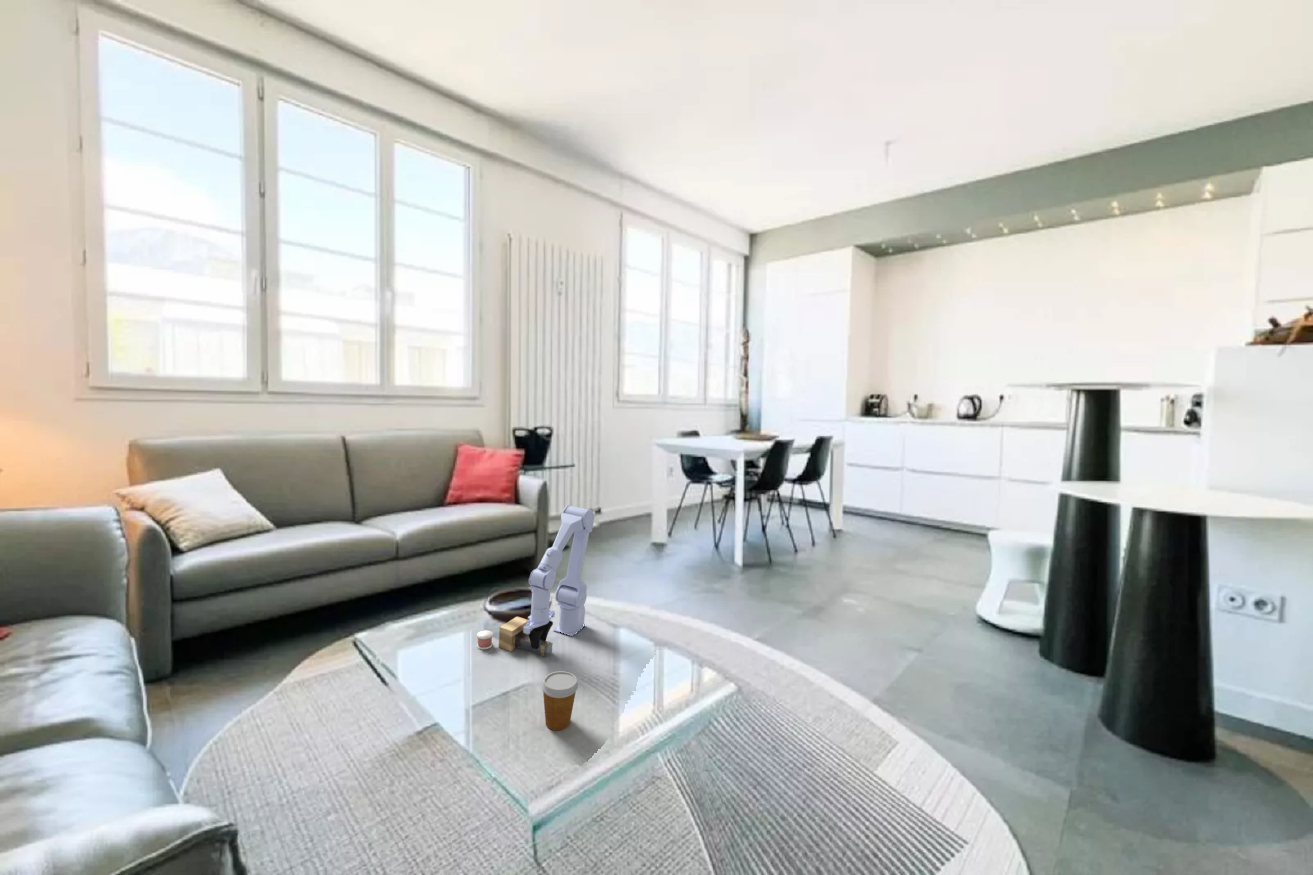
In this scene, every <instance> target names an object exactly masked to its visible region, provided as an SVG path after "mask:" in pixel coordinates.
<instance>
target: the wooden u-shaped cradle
mask: <svg viewBox="0 0 1313 875" xmlns="http://www.w3.org/2000/svg"><path fill="white" fill-rule="evenodd" d="M528 621H529V619H528V618H523V617H520V616H515V617H514V618H512V619H510V620H509V621H508V622H506V623H504V624H502V625H501V626H499V632H498V634H499V635H498V636H499V637H498V648H499V649H503V650H506V651H508V652H513V651H514V650H515V648H516V647H515V635H516V634H517V633H522V634H525V635H528V634H526V633H523V628H524V626H526V624H527V623H528Z"/></svg>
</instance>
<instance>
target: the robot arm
mask: <svg viewBox="0 0 1313 875" xmlns="http://www.w3.org/2000/svg"><path fill="white" fill-rule="evenodd" d="M560 522H561V524H560V527H559V529H558V531H557V535H556V537H555V540H554V542H553V544H552V546H551V547H548V548H547V549H546V550H545V553H544V554H543V556H542V558H541V560H540V563H539V564H538V566H537V568H535V569H533V570H532V571H531V572H530V575H529V578H528V584H529V586H530V591H531V606H530V607H531V608H530V615H529V616H527V620H529V621H528V623H527V624H526V626H524V628H523V633H526V634H528V636H529V639H530V642H531V647H532V648H533V649H538V647H539V642H540V639H541V640H544V641H547V638H548V634H549V632H550V630H551V629H552V627H553V626H554V621H552V620H551V619H553V618H555V615H556V611H555V610H552V609H550V605H551V604H550V602H551V601H550V600H551V589H552V587H553V586H554V585H555V581H556V575H557V572H556V571H557V570H558V568H559V565H560V564H561V561H562V559H563V558H564V556H563V550H565V549H564V548H565V547H566V545H567V544H568V542H569V540H570V539H571V538H573V540H572V545H571V549H570V550H571V551H570V554H569V560H568V566H567V569H566V570H567V571H566V576H565V577H564V578H562V579H560V580H559V581H558V582H559V583H558V586H557V589H555V593H554V596H555V600H556V602H557V605H558V606H559V617H558V625H557V626H556V627H555V628H553V631H554V632H558V633H560V632H561V633H560V634H563V633H564V634H563V635H566V634H567V636H569V635H570V637H574V636H575V635H576V634H577V633H576V632H578V631H579V630H580V629H581V628H583V627H584V626H585V624H586V623H585V615H586V613H585V612H586V608H585V603H586V601H587V596H588V595H587V589H588V588H587V584H586V583H585V582H584V581H583V580H582V575H583V569H584V564H585V558H586V553H587V546H588V542H589V536H590V533H592V532H593V529H594V528H593V527H594V522H595V514H594V511H593V510H592V509H590V508H588V509H587V508H583V507H577V506H573V505H570V504H568V505H566V506H565V507H564V508H563V510H562V512H561V515H560ZM572 536H573V537H572ZM583 624H584V626H583ZM585 627H586V626H585ZM585 627H584V628H585ZM584 628H583V629H584ZM581 630H582V629H581ZM581 630H580V631H581ZM580 631H579V632H580ZM579 632H578V633H579ZM575 633H576V634H575ZM574 634H575V635H574ZM573 635H574V636H573Z"/></svg>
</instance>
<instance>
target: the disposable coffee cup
mask: <svg viewBox="0 0 1313 875" xmlns="http://www.w3.org/2000/svg"><path fill="white" fill-rule="evenodd" d="M540 686H541V691H542V693H543V707H544V708H543V709H544V717H545V718H544V720H545V725H546V727H547V728H548V729H550V730H552V731H561V730H565V729H567V728H568V727H569V726H570V723H571V718H572V714H573V708H574V702H575V699H576V692H577V690H578V688H579V681H578V680H577V676H576V675H575V674H573V673H571V672H569V671H563V670H561V671H559V670H557V671H554V672H550V673H548V674H547V675H545V677H544V678H543V681H542V682H541V685H540Z"/></svg>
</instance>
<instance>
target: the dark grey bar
mask: <svg viewBox="0 0 1313 875" xmlns="http://www.w3.org/2000/svg"><path fill="white" fill-rule="evenodd" d="M515 648H517V649H520V650H523V651H525V652H529V653H531V654H535V655H539V656H541V657H544V658H547V657H549V656H550V655H552V653H553V642H551V641H548V640H546V641H544V640H541V639H540V642H539V647H538V649H533V648H532V647H531V642H530V639H529V636H528V635H525V634H522V633H517V634H516V635H515Z"/></svg>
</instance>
